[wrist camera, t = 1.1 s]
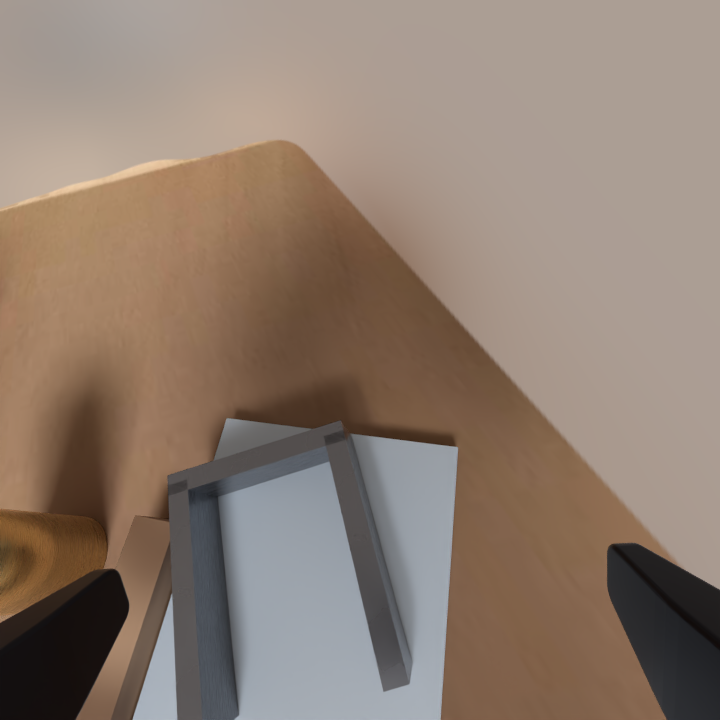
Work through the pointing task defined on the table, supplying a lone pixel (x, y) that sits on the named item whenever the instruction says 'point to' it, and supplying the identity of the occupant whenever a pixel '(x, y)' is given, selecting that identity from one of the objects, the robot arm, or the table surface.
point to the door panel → (326, 586)
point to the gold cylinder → (45, 555)
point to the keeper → (207, 570)
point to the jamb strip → (135, 621)
